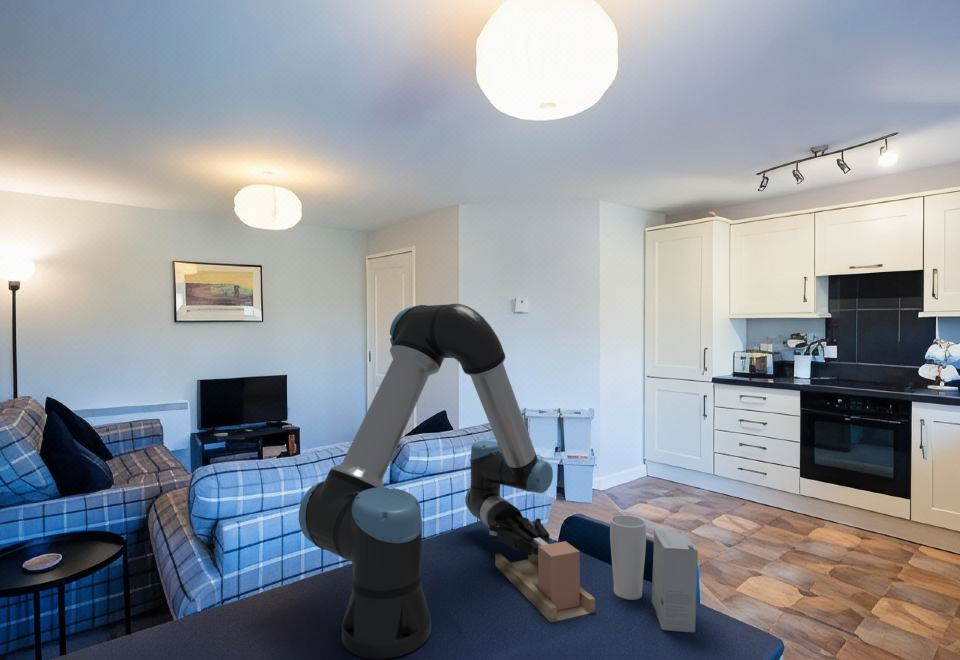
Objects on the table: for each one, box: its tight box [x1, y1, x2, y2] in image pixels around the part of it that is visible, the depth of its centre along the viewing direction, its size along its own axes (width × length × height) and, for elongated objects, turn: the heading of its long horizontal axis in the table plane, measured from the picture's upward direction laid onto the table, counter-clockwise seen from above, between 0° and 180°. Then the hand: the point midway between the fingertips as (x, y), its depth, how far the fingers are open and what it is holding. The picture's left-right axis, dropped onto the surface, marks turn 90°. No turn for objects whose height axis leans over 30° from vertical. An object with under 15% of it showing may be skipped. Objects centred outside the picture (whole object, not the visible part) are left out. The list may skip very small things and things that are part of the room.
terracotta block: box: [538, 540, 581, 611], centre depth 96 cm, size 5×6×10 cm
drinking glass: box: [609, 514, 647, 600], centre depth 100 cm, size 7×7×15 cm
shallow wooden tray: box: [494, 553, 596, 623], centre depth 103 cm, size 24×9×3 cm, turn 22°
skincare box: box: [651, 529, 699, 633], centre depth 92 cm, size 8×6×15 cm
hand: (552, 557), depth 99 cm, fingers closed
